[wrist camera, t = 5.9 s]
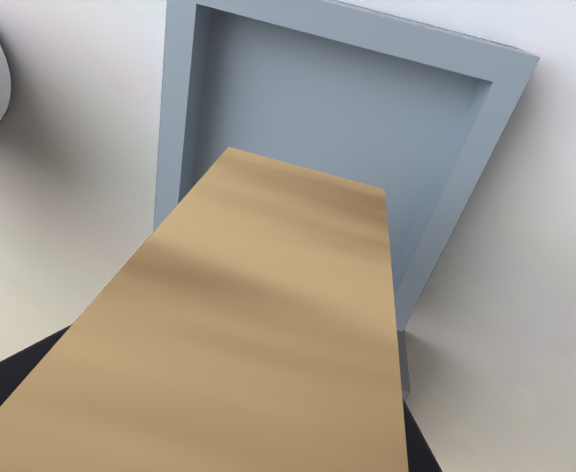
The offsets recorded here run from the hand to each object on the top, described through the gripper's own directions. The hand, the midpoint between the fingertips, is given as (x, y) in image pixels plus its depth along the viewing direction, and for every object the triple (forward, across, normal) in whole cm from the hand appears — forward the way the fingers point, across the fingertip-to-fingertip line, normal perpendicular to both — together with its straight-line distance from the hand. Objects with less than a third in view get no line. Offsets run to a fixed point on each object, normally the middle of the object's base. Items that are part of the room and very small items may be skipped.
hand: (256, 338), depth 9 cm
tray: (+11, 0, 0) cm, 11 cm away
